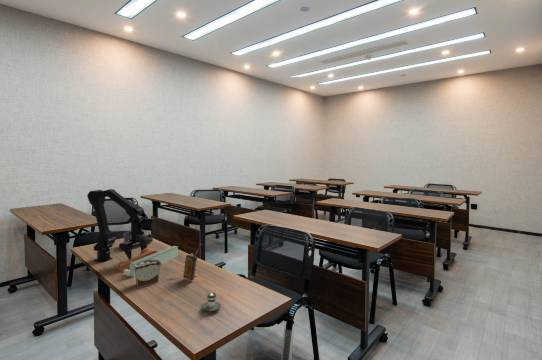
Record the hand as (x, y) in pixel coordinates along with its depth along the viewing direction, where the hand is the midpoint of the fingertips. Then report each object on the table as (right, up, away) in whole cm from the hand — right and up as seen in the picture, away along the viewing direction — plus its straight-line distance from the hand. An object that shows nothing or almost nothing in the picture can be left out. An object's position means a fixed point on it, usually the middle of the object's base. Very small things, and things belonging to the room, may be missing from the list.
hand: (136, 257), depth 160 cm
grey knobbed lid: (+51, -7, -46) cm, 69 cm away
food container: (+16, -5, -26) cm, 31 cm away
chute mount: (+11, -3, -4) cm, 13 cm away
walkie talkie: (+34, -5, -21) cm, 40 cm away
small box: (-14, -1, +25) cm, 29 cm away
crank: (+3, -4, -5) cm, 7 cm away
